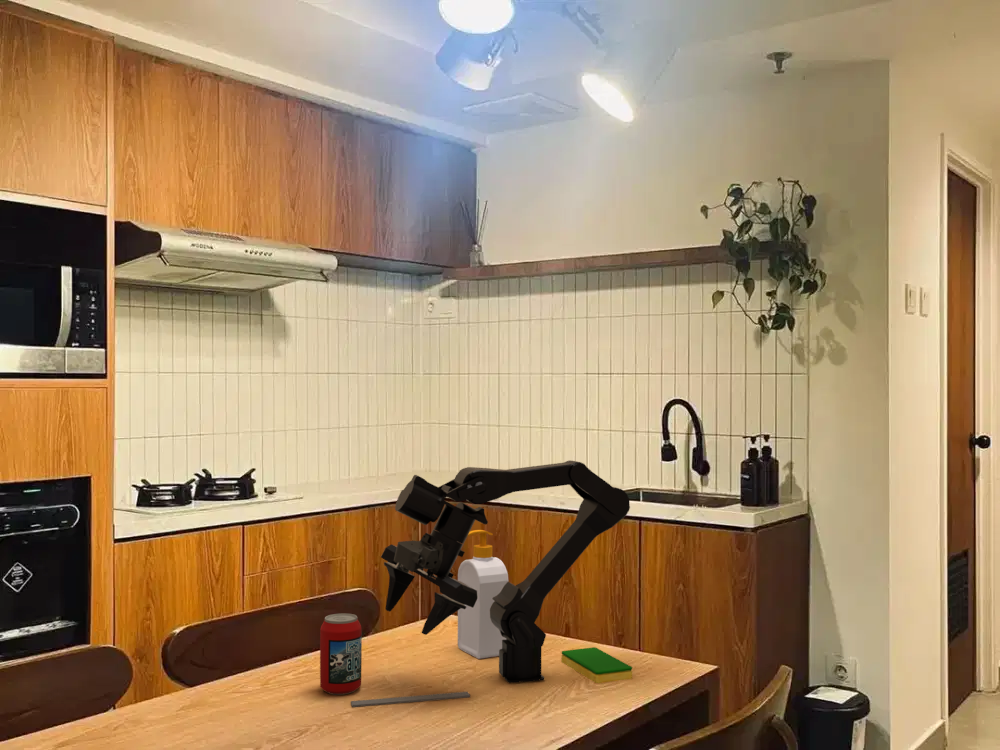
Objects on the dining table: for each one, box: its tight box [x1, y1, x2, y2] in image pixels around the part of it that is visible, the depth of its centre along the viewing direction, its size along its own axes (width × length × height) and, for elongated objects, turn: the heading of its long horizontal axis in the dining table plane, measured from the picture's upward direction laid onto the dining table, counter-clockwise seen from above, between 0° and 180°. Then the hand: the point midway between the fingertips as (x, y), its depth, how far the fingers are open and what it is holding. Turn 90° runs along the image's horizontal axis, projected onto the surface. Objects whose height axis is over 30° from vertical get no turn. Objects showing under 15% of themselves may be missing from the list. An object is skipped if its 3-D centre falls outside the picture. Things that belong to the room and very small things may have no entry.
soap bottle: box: [457, 529, 510, 660], centre depth 182 cm, size 9×7×23 cm
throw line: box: [350, 691, 471, 708], centre depth 154 cm, size 19×2×1 cm, turn 105°
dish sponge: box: [561, 646, 633, 684], centre depth 171 cm, size 7×14×2 cm, turn 22°
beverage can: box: [319, 613, 363, 696], centre depth 159 cm, size 7×7×12 cm
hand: (405, 622), depth 160 cm, fingers open, 9 cm apart
